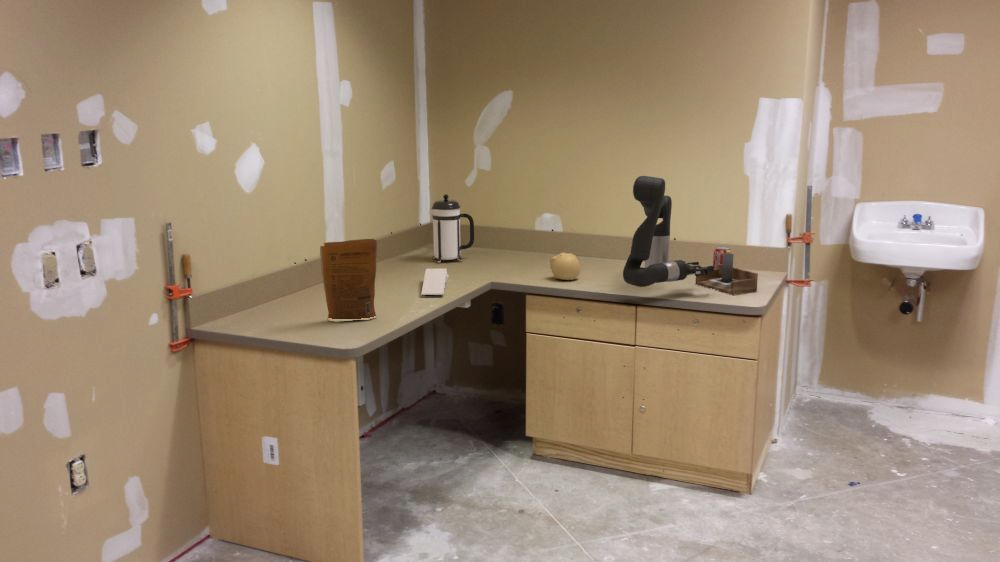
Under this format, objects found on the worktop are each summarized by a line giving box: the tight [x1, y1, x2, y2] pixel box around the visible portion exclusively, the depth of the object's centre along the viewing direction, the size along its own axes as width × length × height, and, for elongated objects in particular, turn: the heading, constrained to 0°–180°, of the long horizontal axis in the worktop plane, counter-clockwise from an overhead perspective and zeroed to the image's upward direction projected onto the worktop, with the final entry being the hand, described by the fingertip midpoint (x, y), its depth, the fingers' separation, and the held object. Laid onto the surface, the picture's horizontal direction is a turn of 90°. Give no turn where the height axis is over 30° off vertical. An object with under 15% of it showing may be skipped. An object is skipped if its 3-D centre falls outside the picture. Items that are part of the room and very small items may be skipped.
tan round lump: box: [549, 252, 581, 281], centre depth 361 cm, size 11×12×11 cm
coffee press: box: [428, 193, 475, 262], centre depth 398 cm, size 17×16×30 cm
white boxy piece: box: [420, 268, 450, 295], centre depth 346 cm, size 10×7×28 cm
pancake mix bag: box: [319, 238, 378, 319], centre depth 299 cm, size 7×19×28 cm, turn 101°
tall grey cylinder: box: [721, 249, 734, 283], centre depth 343 cm, size 4×4×14 cm
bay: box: [695, 264, 759, 296], centre depth 343 cm, size 21×12×7 cm, turn 29°
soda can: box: [712, 246, 732, 269], centre depth 362 cm, size 7×7×12 cm
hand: (705, 266), depth 337 cm, fingers open, 8 cm apart
